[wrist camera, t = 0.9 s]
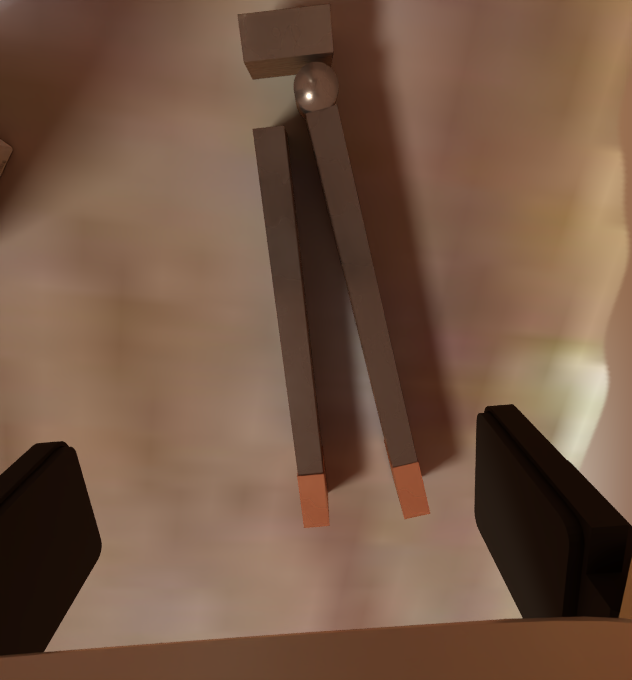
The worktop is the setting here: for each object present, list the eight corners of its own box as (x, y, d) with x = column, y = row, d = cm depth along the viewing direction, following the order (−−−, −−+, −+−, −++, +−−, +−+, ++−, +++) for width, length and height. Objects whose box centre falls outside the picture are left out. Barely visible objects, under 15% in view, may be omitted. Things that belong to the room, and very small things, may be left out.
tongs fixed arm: (246, 38, 25) (236, 13, 21) (327, 29, 25) (329, 3, 21) (305, 495, 34) (304, 527, 30) (364, 489, 34) (370, 522, 30)
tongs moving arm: (291, 85, 25) (288, 68, 22) (329, 74, 25) (332, 55, 22) (392, 487, 33) (400, 520, 30) (421, 480, 33) (433, 512, 30)
